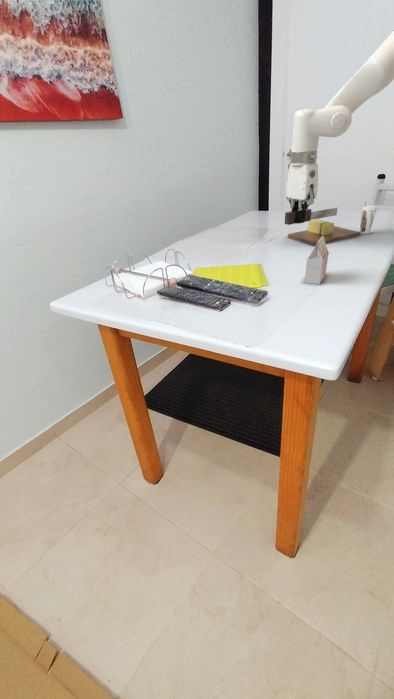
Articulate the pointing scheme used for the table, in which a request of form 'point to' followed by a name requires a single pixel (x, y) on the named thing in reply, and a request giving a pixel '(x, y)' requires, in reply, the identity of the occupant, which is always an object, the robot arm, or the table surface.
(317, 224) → the butter block
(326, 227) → the butter slice
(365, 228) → the milkshake
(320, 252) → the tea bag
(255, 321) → the table surface
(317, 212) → the knife
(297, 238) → the board
